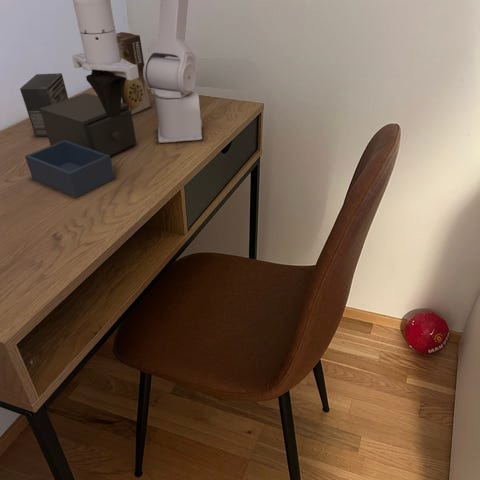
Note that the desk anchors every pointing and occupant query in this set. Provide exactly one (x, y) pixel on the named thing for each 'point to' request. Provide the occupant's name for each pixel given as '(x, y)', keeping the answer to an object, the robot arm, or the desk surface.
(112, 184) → the desk surface
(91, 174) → the box
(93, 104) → the cabinet
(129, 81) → the coffee box
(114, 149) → the drawer
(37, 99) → the small box
